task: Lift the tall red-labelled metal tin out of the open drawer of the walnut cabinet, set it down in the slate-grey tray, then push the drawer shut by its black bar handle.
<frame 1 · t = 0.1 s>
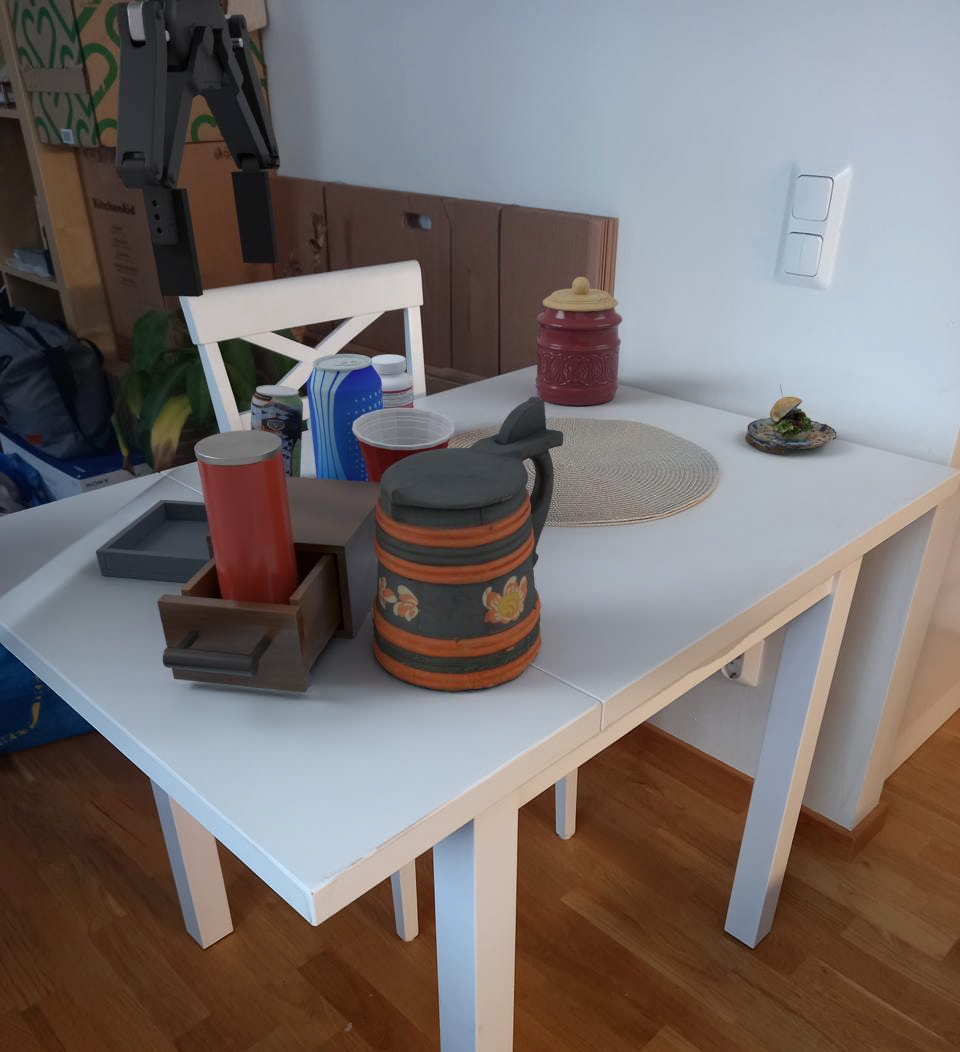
hand: (225, 278, 68), 30 cm above the table, tool pointing down, fingers open, 13 cm apart
pill bottle: (393, 440, 129), on the table
tin: (267, 635, 79), point 2 cm above the table, touching drawer
plastic cup: (409, 529, 103), on the table
burger: (789, 444, 126), on the table
cabinet: (314, 594, 90), on the table
tray: (194, 552, 98), on the table
drawer: (255, 619, 76), point 5 cm above the table, slide at 9.0 cm, touching tin
beer can: (354, 497, 111), on the table
kitchen canister: (576, 396, 146), on the table
beer stein: (473, 638, 82), on the table
beverage can: (282, 485, 115), on the table
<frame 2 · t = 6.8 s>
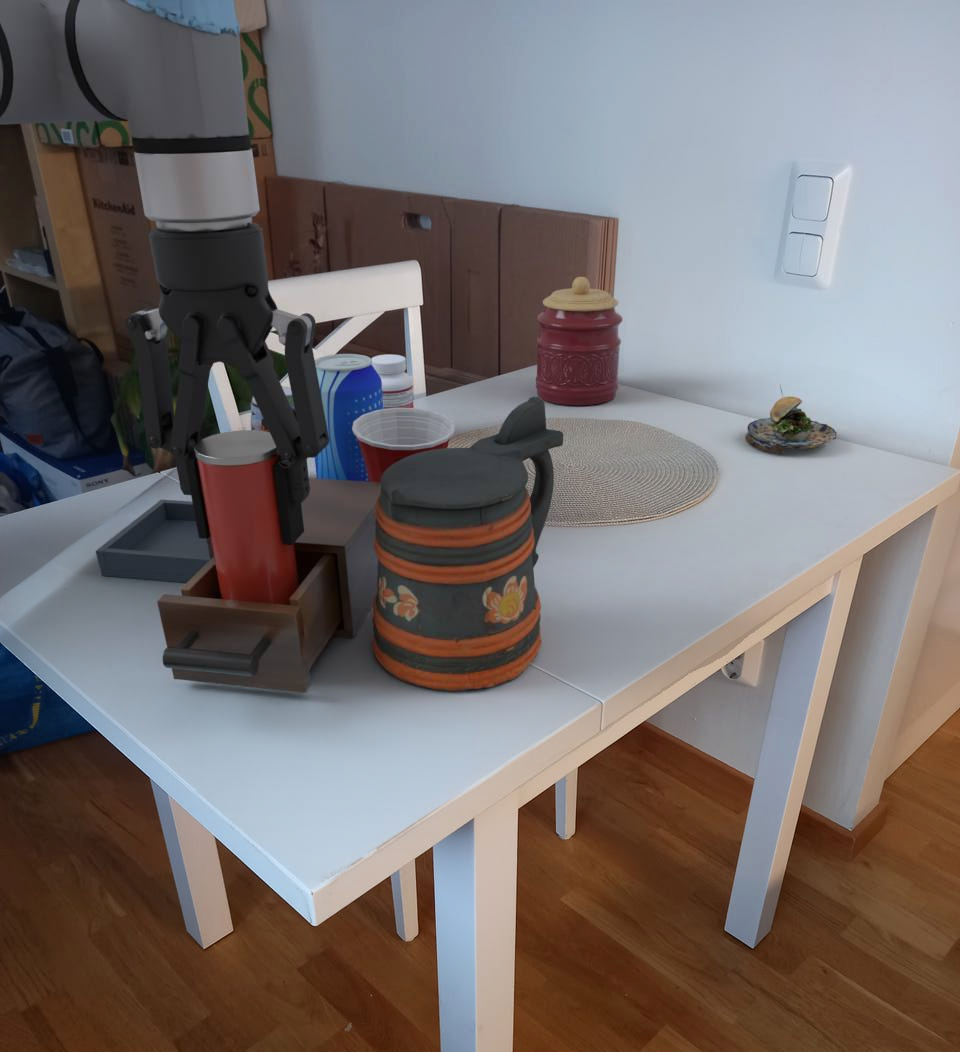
hand: (251, 534, 74), 11 cm above the table, tool pointing down, fingers closed on tin, 6 cm apart
tin: (267, 635, 79), point 2 cm above the table, touching drawer, gripper
everything else where it was.
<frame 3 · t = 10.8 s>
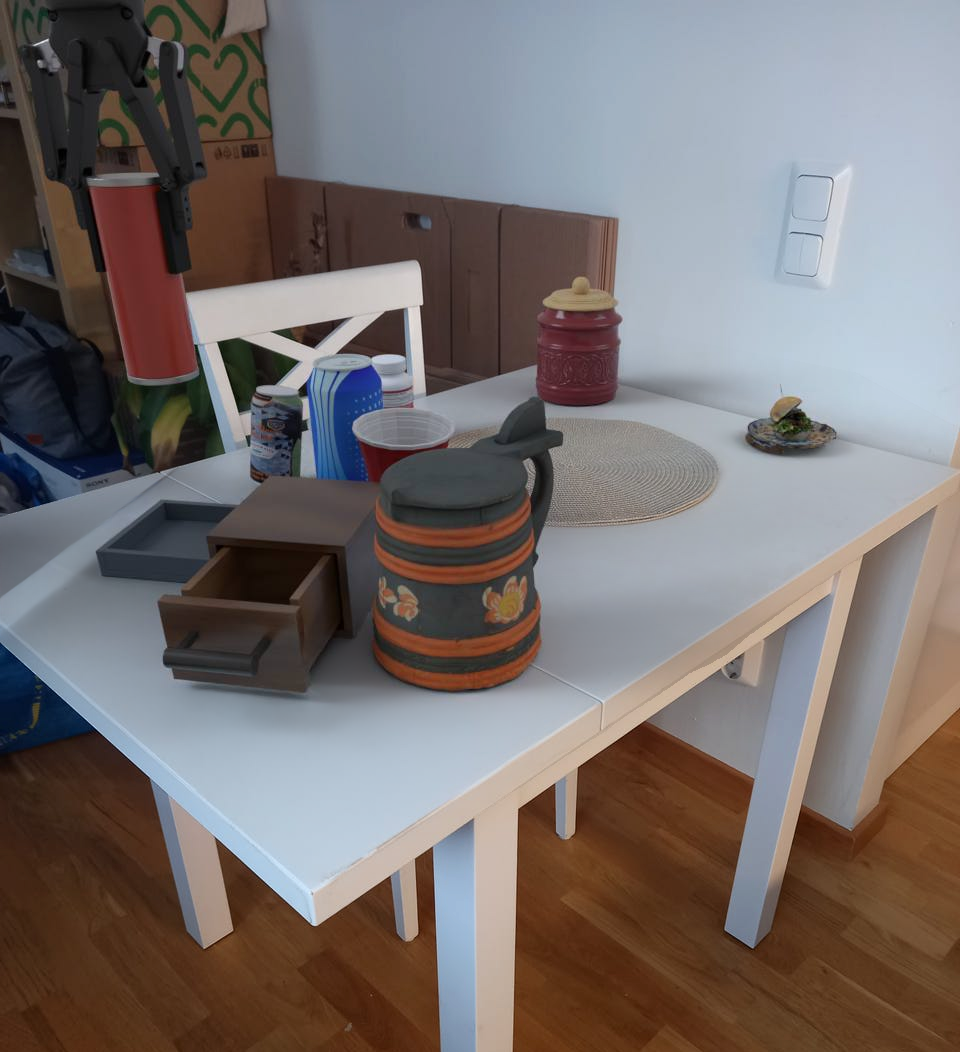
hand: (144, 270, 82), 28 cm above the table, tool pointing down, fingers closed on tin, 6 cm apart
tin: (164, 376, 87), point 19 cm above the table, touching gripper
drawer: (255, 619, 76), point 5 cm above the table, slide at 9.0 cm
everything else where it was.
when the fingers open (10 cm above the table, at t = 15.2 s): tin stays where it is, resting on tray.
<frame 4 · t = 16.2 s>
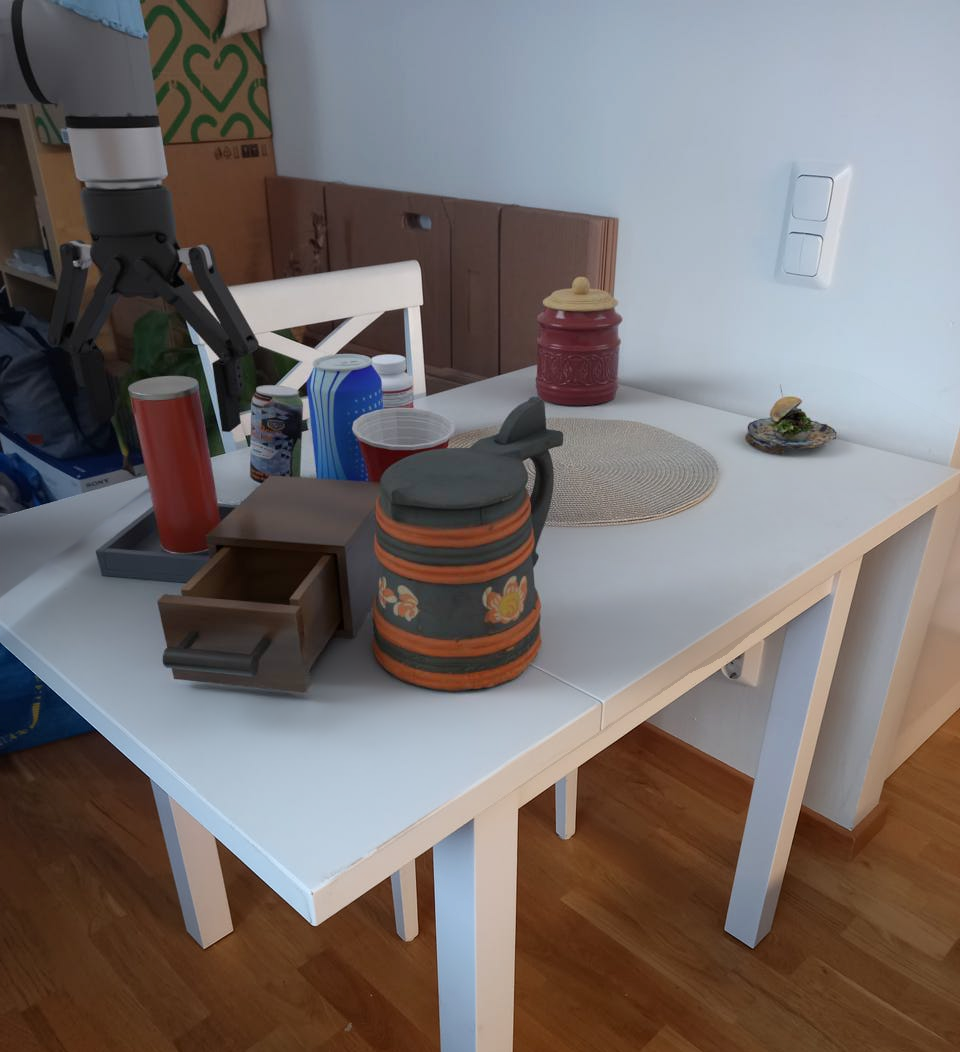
hand: (167, 423, 91), 14 cm above the table, tool pointing down, fingers open, 13 cm apart
tin: (193, 545, 98), point 1 cm above the table, touching tray
everything else where it was.
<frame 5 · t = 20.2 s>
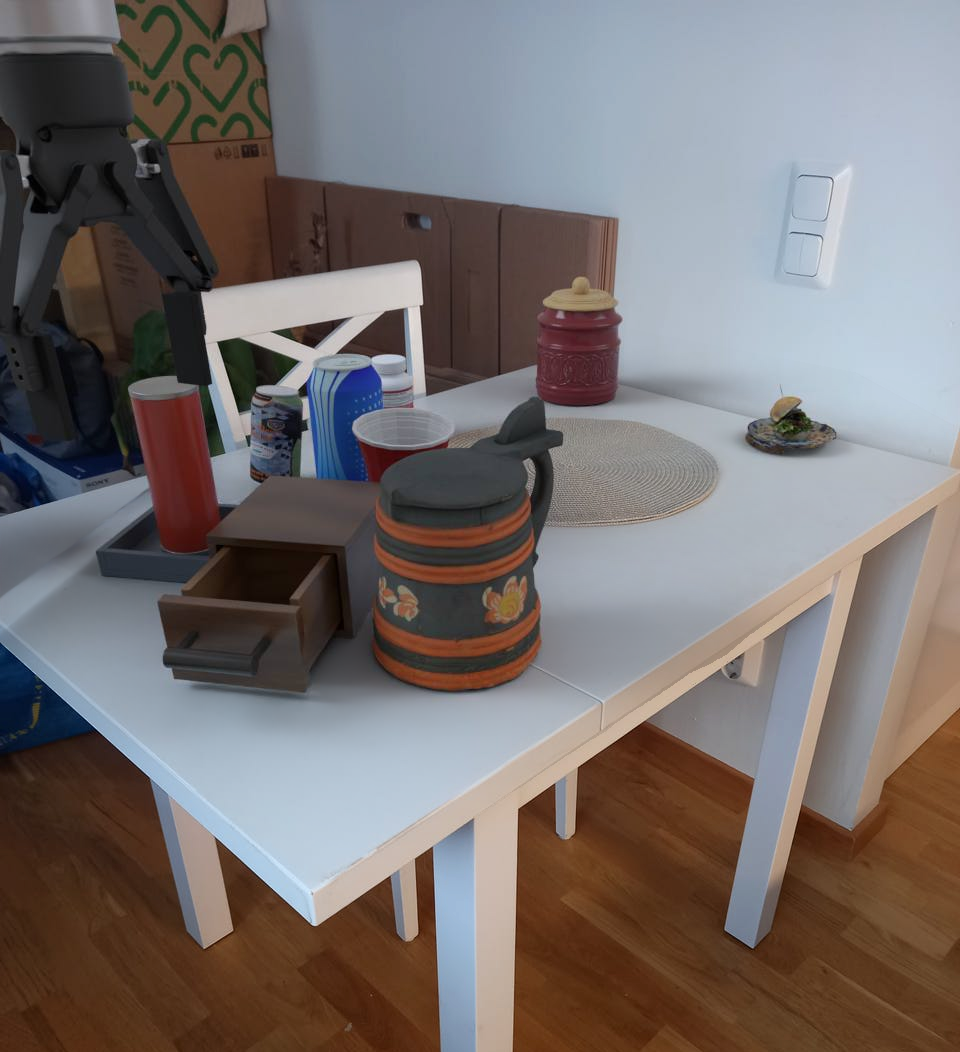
hand: (131, 408, 65), 23 cm above the table, tool pointing down, fingers open, 13 cm apart
nothing on the table moved.
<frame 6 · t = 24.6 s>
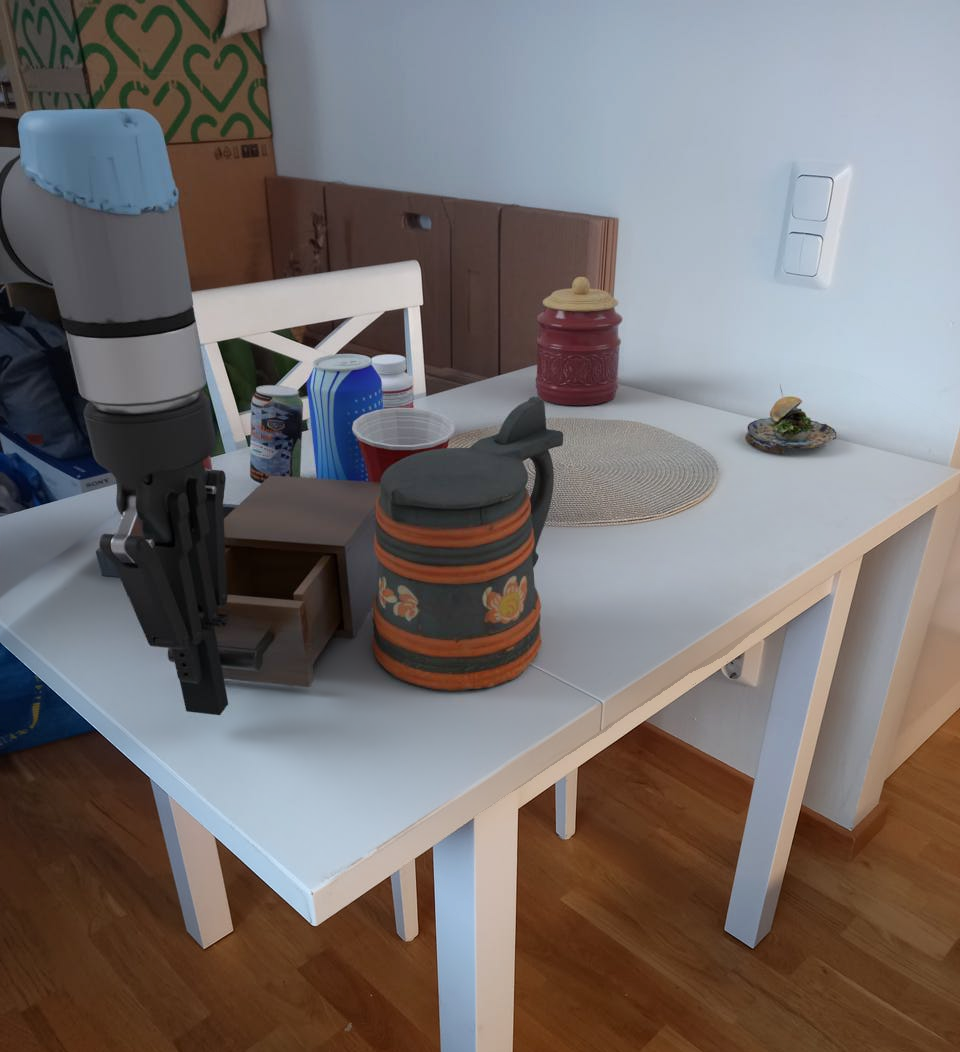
hand: (207, 707, 69), 2 cm above the table, tool pointing down, fingers closed
drawer: (259, 614, 77), point 5 cm above the table, slide at 8.2 cm, touching gripper
everything else where it was.
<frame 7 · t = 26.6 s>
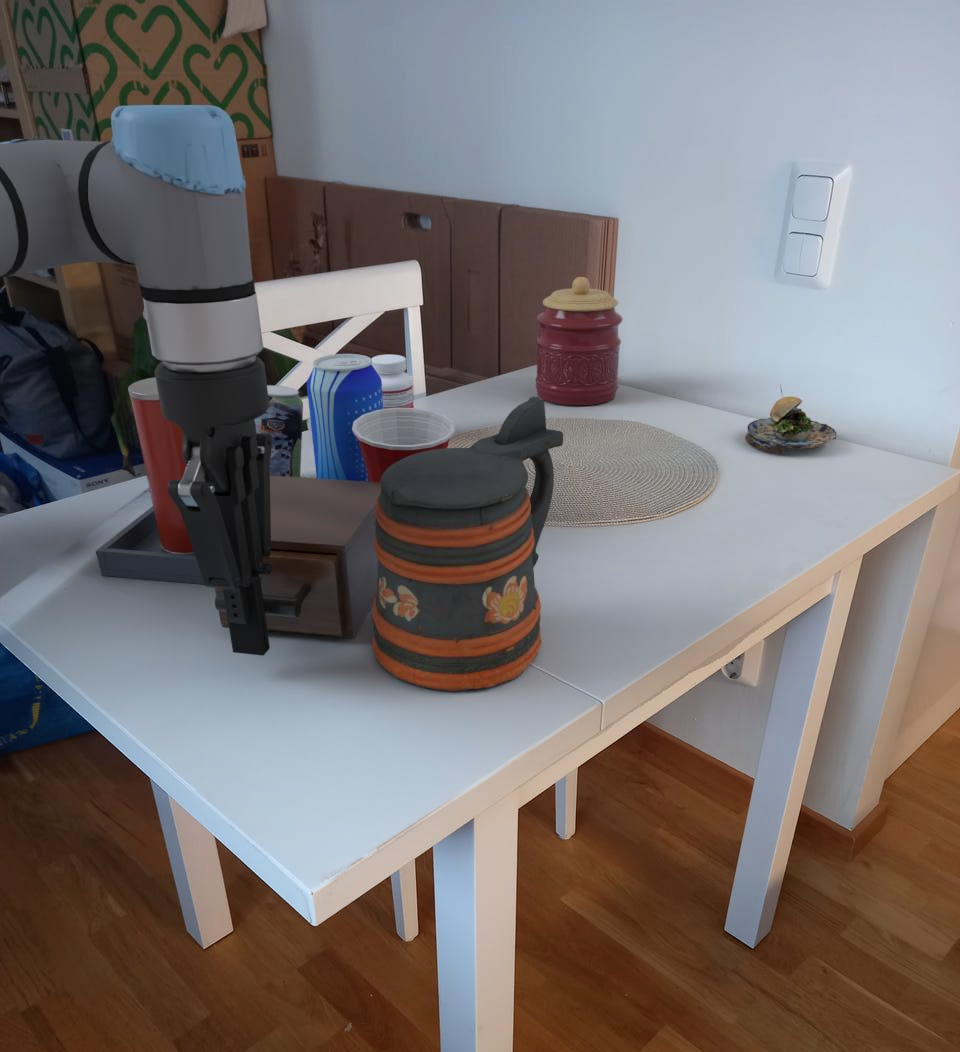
hand: (251, 650, 76), 2 cm above the table, tool pointing down, fingers closed
drawer: (294, 570, 84), point 5 cm above the table, slide at 0.0 cm, touching cabinet, gripper
everything else where it was.
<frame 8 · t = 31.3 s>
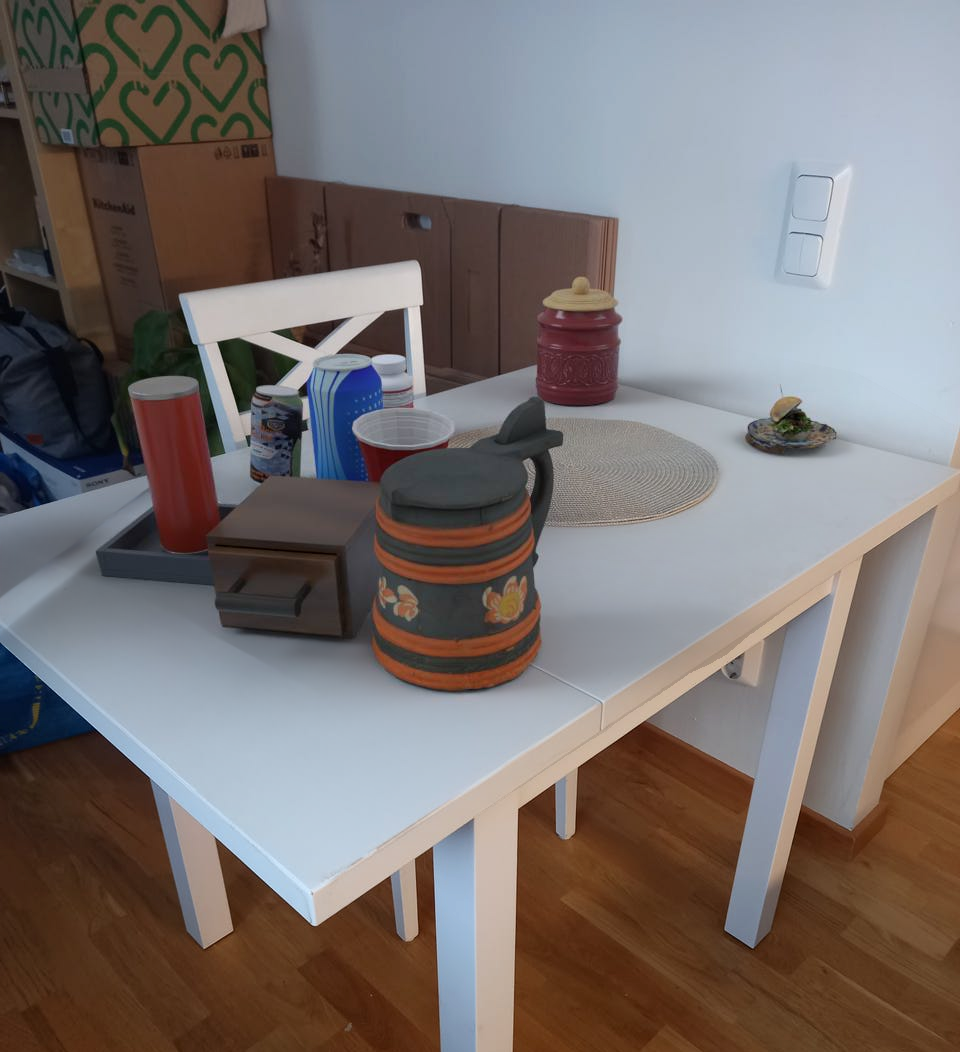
drawer: (294, 570, 84), point 5 cm above the table, slide at 0.0 cm, touching cabinet
everything else where it was.
at the end: tin inside the target area in the tray (0.1 cm from its centre), point 0.8 cm above the tray's base; tin tilted 0°; drawer slide at 0.0 cm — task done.
